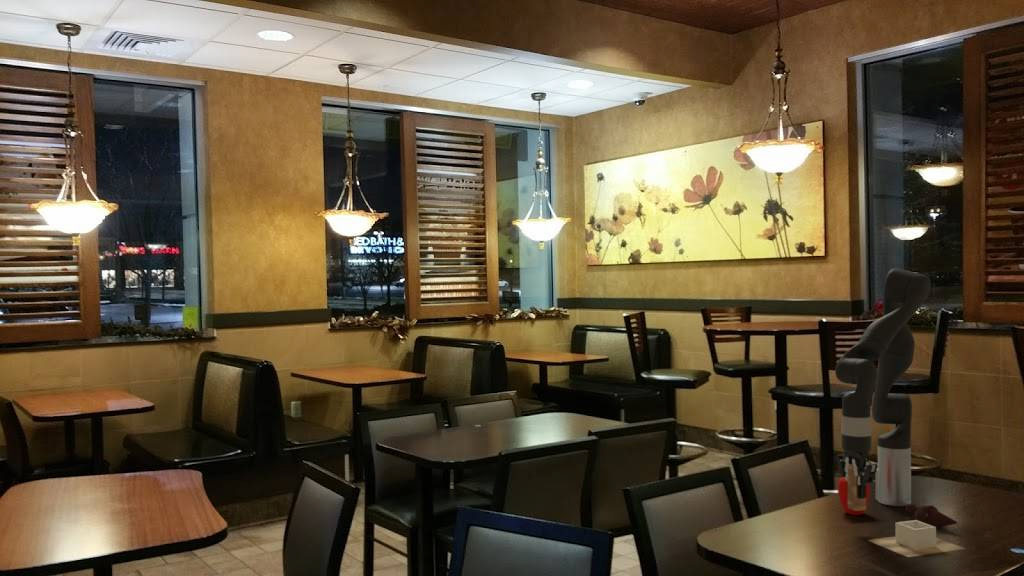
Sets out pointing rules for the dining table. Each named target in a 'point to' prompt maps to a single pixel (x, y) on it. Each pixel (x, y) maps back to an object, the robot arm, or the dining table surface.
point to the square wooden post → (854, 491)
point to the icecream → (929, 516)
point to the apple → (844, 496)
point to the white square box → (915, 534)
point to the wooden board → (909, 552)
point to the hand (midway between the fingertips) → (856, 496)
